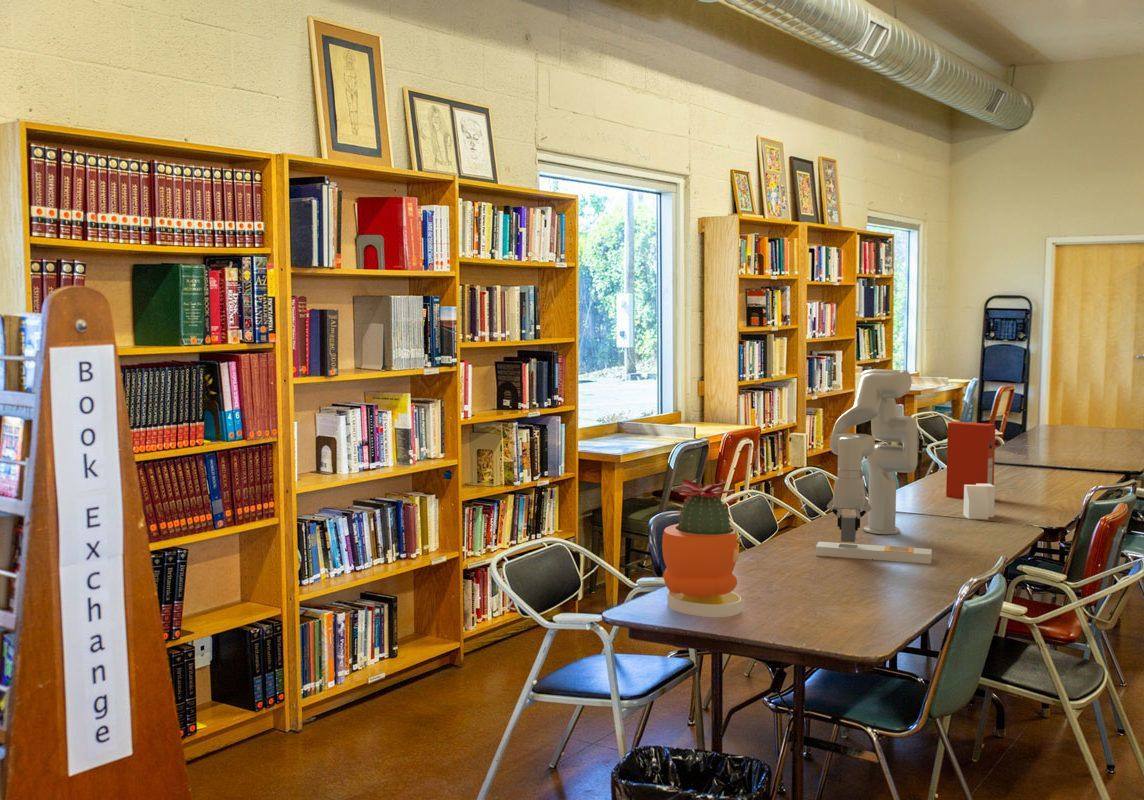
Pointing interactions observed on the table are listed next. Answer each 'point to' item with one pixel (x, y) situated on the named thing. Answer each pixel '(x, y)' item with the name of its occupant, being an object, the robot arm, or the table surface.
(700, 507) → the potted cactus
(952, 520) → the table surface
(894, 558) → the rail
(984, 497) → the white upright cube
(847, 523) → the steel block
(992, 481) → the file binder
